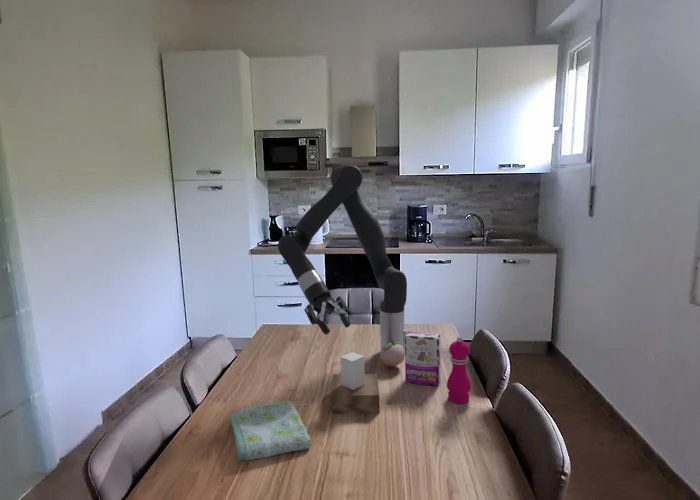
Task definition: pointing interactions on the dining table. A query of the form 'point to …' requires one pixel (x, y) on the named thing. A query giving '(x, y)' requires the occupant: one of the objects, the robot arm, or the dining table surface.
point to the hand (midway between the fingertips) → (338, 329)
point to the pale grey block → (353, 370)
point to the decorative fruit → (392, 354)
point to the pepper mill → (459, 373)
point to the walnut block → (355, 396)
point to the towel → (269, 430)
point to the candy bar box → (422, 358)
